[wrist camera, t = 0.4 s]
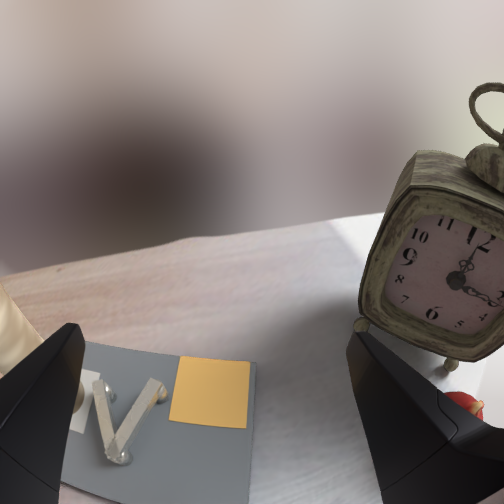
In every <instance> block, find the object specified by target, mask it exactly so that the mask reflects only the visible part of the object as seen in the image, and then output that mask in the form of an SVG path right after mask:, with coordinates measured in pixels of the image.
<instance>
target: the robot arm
mask: <svg viewBox="0 0 504 504" xmlns="http://www.w3.org/2000/svg"><path fill="white" fill-rule="evenodd" d="M84 353H85V340H84V337H83V334H82V331H81V329H80V326H79V325H78V324H75V323H66V324H65V325H63V326H62V327H61V328H60V329H59V330H57V331H56V332H55V333H54V334H52V335H51V336H50V337H49V338H48V339H46V340H45V341H44V342H43V343H42V344H40V345H39V346H38V347H37V348H36V349H34V350H33V351H32V352H31V353H30V354H28V355H27V356H26V357H25V358H24V359H23V360H21V361H20V362H19V363H18V364H17V365H16V366H15V367H13V368H12V369H11V370H10V371H9V372H8V373H7V374H5V375H4V376H3V377H2V378H1V379H0V504H58V500H59V489H60V481H61V474H62V467H63V461H64V455H65V449H66V443H67V438H68V433H69V428H70V423H71V419H72V414H73V410H74V406H75V401H76V397H77V393H78V389H79V384H80V377H81V371H82V365H83V359H84ZM346 356H347V361H348V366H349V371H350V377H351V382H352V387H353V392H354V396H355V399H356V403H357V406H358V409H359V413H360V416H361V420H362V423H363V427H364V430H365V434H366V437H367V441H368V445H369V448H370V452H371V456H372V460H373V464H374V467H375V471H376V475H377V479H378V483H379V487H380V491H381V496H382V501H383V504H504V429H503V428H496V427H493V426H491V425H489V424H487V423H485V422H484V421H482V420H481V419H479V418H478V417H476V416H475V415H473V414H472V413H470V412H469V411H467V410H466V409H464V408H463V407H462V406H460V405H459V404H457V403H456V402H454V401H453V400H452V399H451V398H449V397H448V396H447V395H445V394H444V393H443V392H442V391H440V390H439V389H437V387H435V386H434V385H433V384H432V383H430V382H429V381H428V380H427V379H425V378H424V377H423V376H422V375H420V374H419V373H418V372H417V371H415V370H414V369H413V368H412V367H411V366H409V365H408V364H407V363H406V362H404V361H403V360H402V359H401V358H399V357H398V356H397V355H396V354H394V353H393V352H392V351H391V350H389V349H388V348H387V347H386V346H384V345H383V344H382V343H381V342H379V341H378V340H377V339H375V338H374V337H373V336H372V335H370V334H369V333H368V332H367V331H355V332H354V333H353V334H352V336H351V339H350V341H349V343H348V346H347V349H346Z"/></svg>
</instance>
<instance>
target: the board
mask: <svg viewBox="0 0 504 504" xmlns="http://www.w3.org/2000/svg"><path fill="white" fill-rule="evenodd" d="M150 377H151V378H153V379H158V380H160V381H161V382H162V383H163V385H164V386H165V388H166V390H167V391H168V393H169V399H168V401H167V402H166V403H164V404H158V403H155V405H154V406H153V408H152V410H151V411H150V413H149V415H148V416H147V418H146V420H145V422H144V423H143V425H142V427H141V428H140V430H139V432H138V433H137V435H136V437H135V438H134V440H133V442H132V444H131V445H130V447H129V449H128V451H129V452H130V453H131V454H132V456H133V461H132V463H131V464H130V465H128V466H123V465H120V464H118V463H115V462H113V461H111V460H109V459H108V458H107V454H105V453H104V452H105V451H106V450H105V446H104V442H103V438H102V434H101V430H100V425H99V420H98V416H97V410H96V405H95V400H94V394H93V388H92V381H96V380H101V379H103V380H104V381H105V382H106V383H107V384H108V385H109V386H110V387H111V388H112V389H113V390H114V391H115V393H116V395H117V399H116V401H115V402H114V403H113V404H111V406H112V411H113V415H114V419H115V423H116V427H117V431H118V429H119V427H120V426H121V424H122V423H123V421H124V419H125V418H126V416H127V414H128V413H129V411H130V410H131V408H132V406H133V405H134V403H135V401H136V400H137V398H138V397H139V395H140V393H141V392H142V390H143V389H144V387H145V385H146V384H147V382H148V381H149V379H150ZM255 378H256V362H247V361H231V360H218V359H207V358H196V357H187V356H174V355H166V354H158V353H151V352H144V351H138V350H131V349H125V348H119V347H114V346H108V345H103V344H98V343H93V342H88V341H85V353H84V359H83V365H82V371H81V377H80V381H81V382H82V384H83V387H84V392H85V396H84V401H83V404H82V406H81V407H80V409H79V410H78V411H77V412H76V413H74V414H73V415H72V419H71V423H70V428H69V433H68V438H67V443H66V449H65V455H64V461H63V467H62V474H61V481H63V482H65V483H67V484H70V485H72V486H74V487H77V488H79V489H82V490H84V491H87V492H90V493H92V494H95V495H98V496H101V497H103V498H106V499H109V500H113V501H116V502H119V503H122V504H248V502H249V486H250V469H251V452H252V434H253V416H254V397H255Z"/></svg>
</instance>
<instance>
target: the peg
mask: <svg viewBox="0 0 504 504" xmlns="http://www.w3.org/2000/svg"><path fill="white" fill-rule="evenodd" d="M43 342H44V340H43V339H42V338H41V337H40V336H39V334H38V333H37V332H36V331H35V329H34V328H33V327H32V326H31V324H30V323H29V322H28V321H27V319H26V318H25V317H24V315H23V314H22V313H21V311H20V310H19V309H18V307H17V306H16V305H15V303H14V302H13V300H12V299H11V298H10V296H9V295H8V293H7V292H6V290H5V289H4V287H3V286H2V284H1V283H0V372H1V373H2V374H3V375H5V374H7V373H8V372H9V371H10V370H11V369H12V368H13V367H15V366H16V365H17V364H18V363H19V362H20V361H21V360H23V359H24V358H25V357H26V356H27V355H28V354H30V353H31V352H32V351H33V350H34V349H36V348H37V347H38V346H39V345H40V344H42V343H43ZM84 396H85V392H84V387H83V384H82V382H81V381H80V384H79V389H78V393H77V397H76V401H75V406H74V410H73V414H74V413H76V412H77V411H78V410H79V409H80V407H81V406H82V404H83V401H84ZM73 414H72V415H73Z"/></svg>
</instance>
